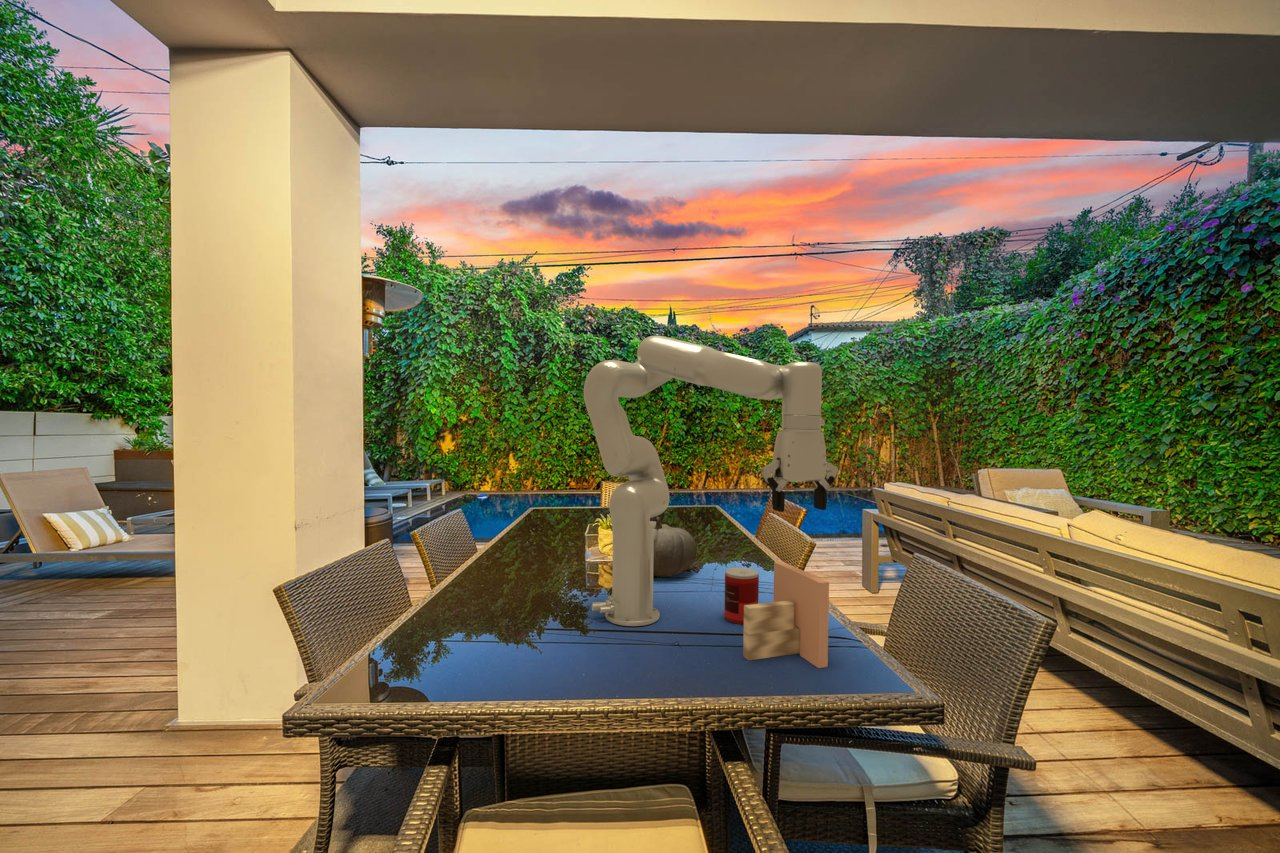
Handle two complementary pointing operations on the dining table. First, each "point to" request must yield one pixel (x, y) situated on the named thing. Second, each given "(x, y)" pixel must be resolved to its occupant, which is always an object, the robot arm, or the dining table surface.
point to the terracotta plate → (806, 609)
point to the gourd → (671, 549)
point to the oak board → (770, 630)
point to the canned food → (740, 592)
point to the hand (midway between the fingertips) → (799, 509)
